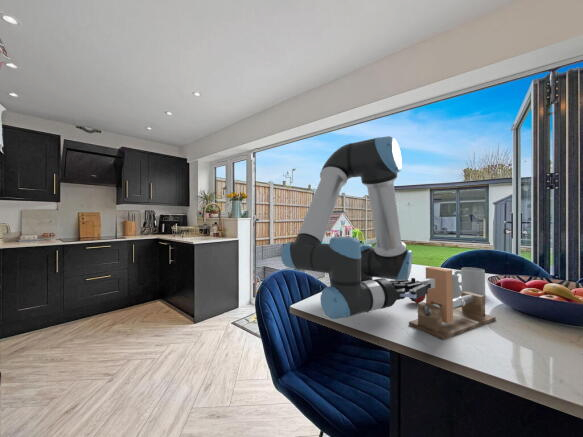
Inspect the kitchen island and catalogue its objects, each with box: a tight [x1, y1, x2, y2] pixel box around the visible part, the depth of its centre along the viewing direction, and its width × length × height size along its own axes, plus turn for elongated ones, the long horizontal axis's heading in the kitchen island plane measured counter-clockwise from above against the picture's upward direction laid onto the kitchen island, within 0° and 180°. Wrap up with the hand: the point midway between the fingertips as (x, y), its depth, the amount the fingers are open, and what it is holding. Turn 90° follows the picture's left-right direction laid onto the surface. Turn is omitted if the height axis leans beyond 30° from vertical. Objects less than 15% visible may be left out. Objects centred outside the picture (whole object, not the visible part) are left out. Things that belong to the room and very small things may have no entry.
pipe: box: [422, 295, 476, 317], centre depth 80 cm, size 26×3×3 cm, turn 116°
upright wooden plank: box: [425, 266, 453, 323], centre depth 77 cm, size 3×7×16 cm, turn 26°
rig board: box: [408, 291, 497, 341], centre depth 80 cm, size 28×11×8 cm, turn 116°
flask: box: [452, 274, 462, 299], centre depth 102 cm, size 7×7×10 cm
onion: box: [413, 295, 426, 304], centre depth 98 cm, size 6×6×8 cm
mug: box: [453, 267, 486, 297], centre depth 110 cm, size 12×8×11 cm
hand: (432, 282), depth 75 cm, fingers closed
